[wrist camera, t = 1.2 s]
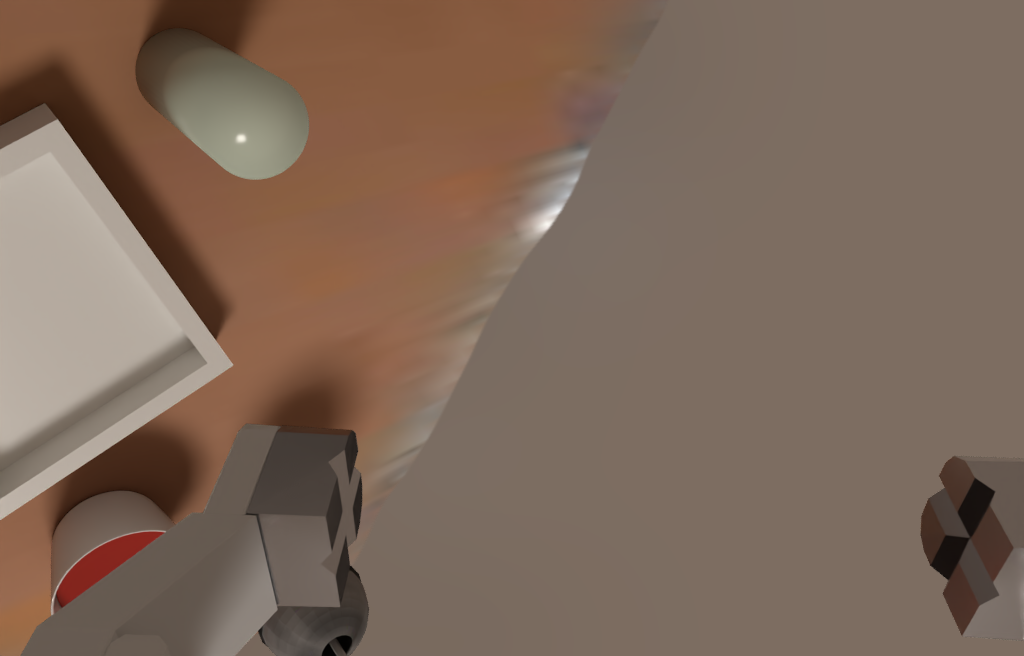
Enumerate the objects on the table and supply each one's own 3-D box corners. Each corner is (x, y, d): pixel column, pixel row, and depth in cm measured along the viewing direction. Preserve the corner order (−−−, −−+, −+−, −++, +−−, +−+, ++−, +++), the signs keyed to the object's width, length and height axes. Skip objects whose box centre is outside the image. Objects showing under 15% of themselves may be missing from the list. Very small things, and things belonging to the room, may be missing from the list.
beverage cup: (275, 450, 63) (404, 630, 49) (309, 511, 67) (437, 692, 53) (184, 506, 60) (293, 713, 46) (226, 565, 65) (337, 771, 51)
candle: (185, 553, 62) (213, 609, 58) (51, 606, 57) (70, 671, 53) (163, 456, 58) (191, 509, 53) (16, 505, 53) (33, 568, 49)
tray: (-272, 267, 40) (-279, 296, 37) (44, 102, 44) (57, 119, 42) (-14, 490, 51) (-6, 523, 49) (215, 341, 56) (233, 365, 54)
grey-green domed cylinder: (116, 54, 45) (182, 106, 37) (198, 12, 47) (280, 53, 38) (166, 133, 49) (237, 198, 40) (241, 92, 50) (325, 146, 42)
